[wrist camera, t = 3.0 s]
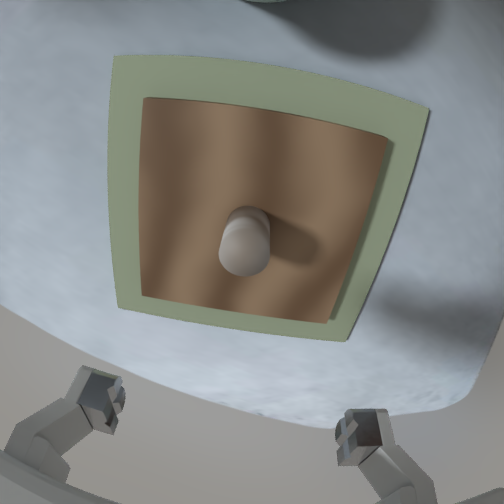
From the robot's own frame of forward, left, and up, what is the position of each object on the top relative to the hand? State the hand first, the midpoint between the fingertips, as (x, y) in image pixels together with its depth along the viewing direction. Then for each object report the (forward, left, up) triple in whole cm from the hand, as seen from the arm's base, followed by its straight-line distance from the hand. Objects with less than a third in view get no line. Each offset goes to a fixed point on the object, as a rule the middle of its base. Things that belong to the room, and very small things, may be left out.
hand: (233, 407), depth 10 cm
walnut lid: (0, 0, -15) cm, 15 cm away
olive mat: (0, 0, -16) cm, 15 cm away
